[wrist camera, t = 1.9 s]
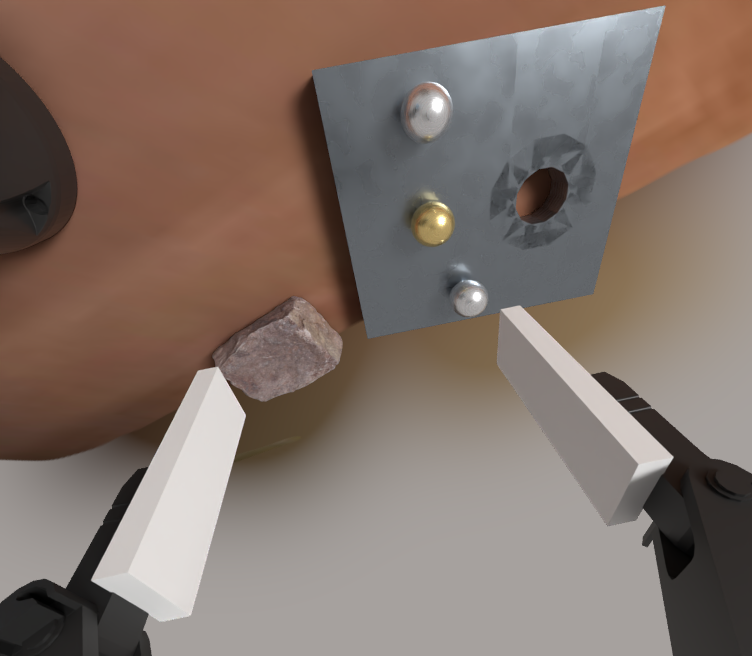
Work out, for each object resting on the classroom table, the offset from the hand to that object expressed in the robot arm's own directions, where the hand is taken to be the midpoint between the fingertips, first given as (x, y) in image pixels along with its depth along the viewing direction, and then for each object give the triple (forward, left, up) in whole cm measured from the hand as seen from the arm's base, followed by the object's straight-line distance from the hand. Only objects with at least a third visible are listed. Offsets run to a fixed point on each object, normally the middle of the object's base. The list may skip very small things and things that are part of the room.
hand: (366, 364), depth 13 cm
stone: (-9, -11, -20) cm, 25 cm away
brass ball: (+7, 0, -16) cm, 17 cm away
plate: (+12, 0, -20) cm, 23 cm away
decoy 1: (+7, +7, -16) cm, 19 cm away
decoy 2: (+10, -8, -16) cm, 20 cm away
